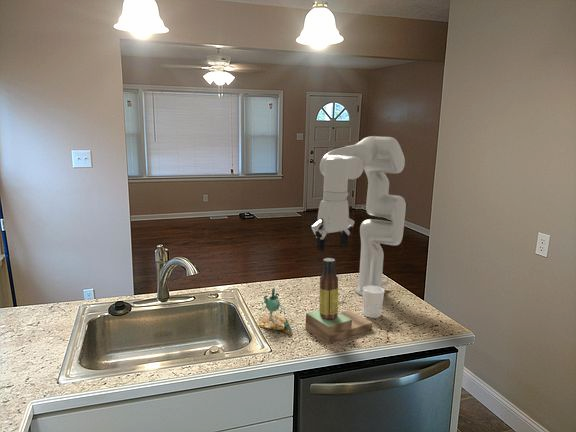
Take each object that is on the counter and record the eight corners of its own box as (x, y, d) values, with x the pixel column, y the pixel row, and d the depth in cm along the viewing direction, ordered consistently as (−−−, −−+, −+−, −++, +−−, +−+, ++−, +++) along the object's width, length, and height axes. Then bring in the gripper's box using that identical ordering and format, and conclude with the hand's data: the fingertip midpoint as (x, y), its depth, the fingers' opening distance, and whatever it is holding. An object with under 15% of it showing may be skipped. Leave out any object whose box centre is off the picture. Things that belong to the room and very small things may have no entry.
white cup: (365, 319, 156) (367, 293, 155) (358, 310, 164) (359, 285, 162) (385, 318, 158) (387, 292, 156) (377, 309, 166) (379, 285, 164)
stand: (348, 316, 158) (349, 301, 157) (372, 329, 149) (373, 313, 148) (305, 329, 147) (306, 313, 146) (327, 343, 138) (328, 326, 136)
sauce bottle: (337, 312, 147) (340, 257, 143) (338, 320, 141) (341, 262, 137) (318, 311, 147) (320, 256, 143) (318, 319, 141) (320, 261, 137)
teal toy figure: (273, 340, 139) (271, 296, 137) (250, 324, 155) (248, 284, 153) (299, 333, 144) (297, 291, 142) (274, 318, 159) (272, 279, 158)
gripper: (347, 193, 144) (344, 242, 147) (306, 196, 134) (304, 249, 138) (363, 196, 138) (359, 247, 141) (321, 200, 128) (318, 255, 132)
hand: (332, 248), depth 140 cm, fingers open, 9 cm apart
